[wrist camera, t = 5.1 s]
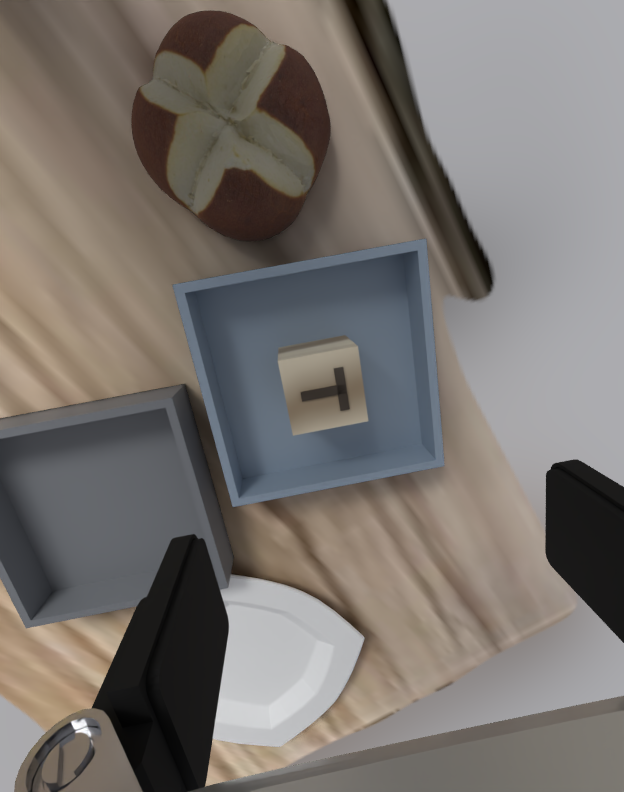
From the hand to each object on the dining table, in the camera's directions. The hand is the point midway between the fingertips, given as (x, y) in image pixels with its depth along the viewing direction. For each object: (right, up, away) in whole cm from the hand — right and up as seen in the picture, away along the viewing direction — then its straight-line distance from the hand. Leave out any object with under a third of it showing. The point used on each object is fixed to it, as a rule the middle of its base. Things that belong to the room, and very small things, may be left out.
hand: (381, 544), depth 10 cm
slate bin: (-1, +6, +19) cm, 20 cm away
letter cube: (-1, +6, +19) cm, 20 cm away
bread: (-7, +21, +15) cm, 26 cm away
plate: (-8, -21, +27) cm, 35 cm away
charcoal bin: (-18, -4, +21) cm, 28 cm away
